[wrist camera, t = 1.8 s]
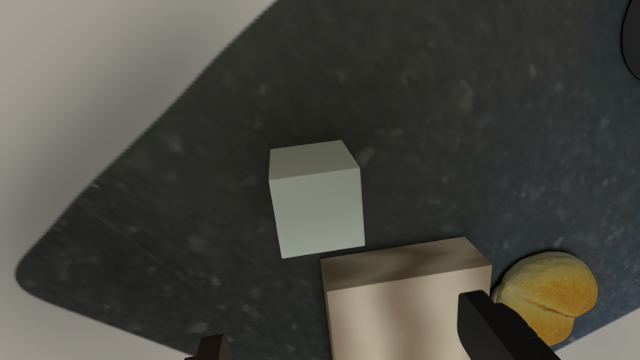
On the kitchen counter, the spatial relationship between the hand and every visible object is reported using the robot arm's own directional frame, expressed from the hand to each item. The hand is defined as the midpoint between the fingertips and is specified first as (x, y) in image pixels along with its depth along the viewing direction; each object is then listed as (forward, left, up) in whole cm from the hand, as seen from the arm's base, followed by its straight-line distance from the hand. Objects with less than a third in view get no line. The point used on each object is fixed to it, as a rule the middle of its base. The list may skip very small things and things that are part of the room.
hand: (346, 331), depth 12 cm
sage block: (0, 0, -15) cm, 15 cm away
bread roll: (-19, +14, -15) cm, 28 cm away
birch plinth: (-6, +13, -15) cm, 20 cm away
